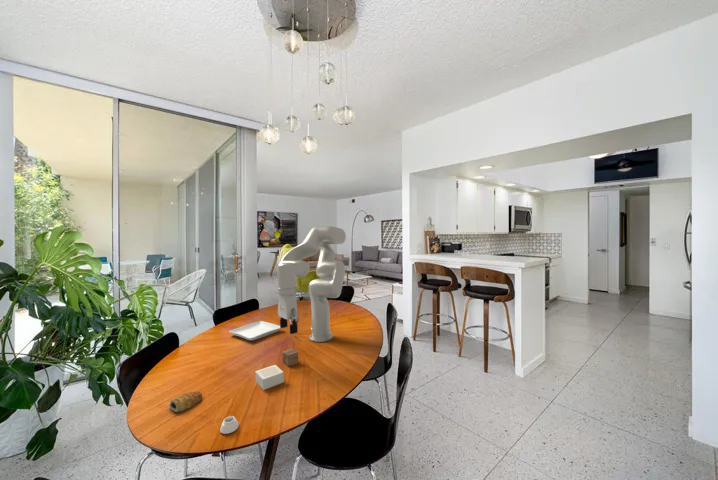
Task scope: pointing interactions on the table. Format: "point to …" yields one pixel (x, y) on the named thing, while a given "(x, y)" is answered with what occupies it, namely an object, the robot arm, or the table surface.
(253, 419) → the table surface
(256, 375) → the base
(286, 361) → the cube
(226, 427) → the white jar
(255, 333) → the salad plate
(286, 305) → the robot arm
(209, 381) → the table surface
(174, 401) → the pastry
